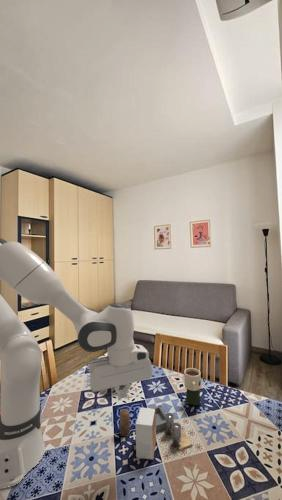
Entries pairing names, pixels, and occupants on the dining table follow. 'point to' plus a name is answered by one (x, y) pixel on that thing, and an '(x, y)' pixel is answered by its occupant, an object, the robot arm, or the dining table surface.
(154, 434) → the small box
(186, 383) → the character mug
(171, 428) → the dogs
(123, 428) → the dowel
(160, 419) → the grey partly piece
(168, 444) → the dining table surface
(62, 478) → the dining table surface
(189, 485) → the dining table surface
